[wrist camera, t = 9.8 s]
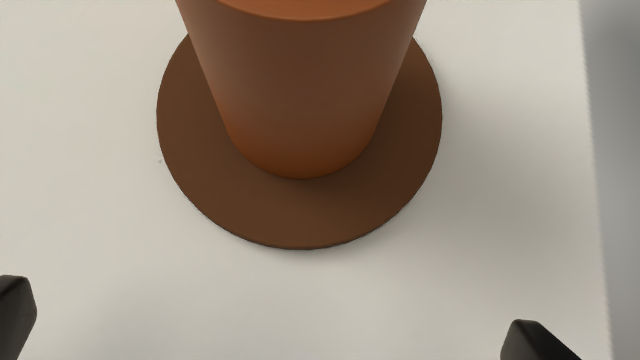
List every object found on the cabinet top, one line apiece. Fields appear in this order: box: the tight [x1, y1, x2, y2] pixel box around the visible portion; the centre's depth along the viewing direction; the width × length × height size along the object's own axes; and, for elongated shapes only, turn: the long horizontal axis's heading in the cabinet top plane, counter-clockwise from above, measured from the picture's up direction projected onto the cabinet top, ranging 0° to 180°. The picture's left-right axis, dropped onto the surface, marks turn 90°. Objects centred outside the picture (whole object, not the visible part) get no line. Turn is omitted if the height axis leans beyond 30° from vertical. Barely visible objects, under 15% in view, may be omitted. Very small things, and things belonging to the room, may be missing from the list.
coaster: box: [156, 34, 442, 250], centre depth 18 cm, size 11×11×1 cm
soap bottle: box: [175, 0, 427, 179], centre depth 13 cm, size 7×6×11 cm
